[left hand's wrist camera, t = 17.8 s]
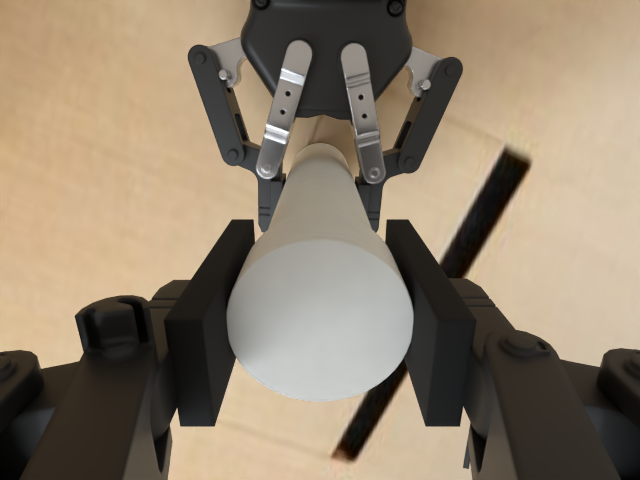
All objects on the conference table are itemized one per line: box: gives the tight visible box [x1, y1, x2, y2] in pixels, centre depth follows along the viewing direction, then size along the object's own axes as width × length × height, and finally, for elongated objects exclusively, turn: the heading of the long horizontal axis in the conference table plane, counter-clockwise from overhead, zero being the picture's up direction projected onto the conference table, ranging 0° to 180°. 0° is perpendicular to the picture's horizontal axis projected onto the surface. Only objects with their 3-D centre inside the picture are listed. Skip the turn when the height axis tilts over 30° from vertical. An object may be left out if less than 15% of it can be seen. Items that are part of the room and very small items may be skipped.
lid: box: [226, 212, 414, 402], centre depth 11 cm, size 5×5×2 cm
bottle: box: [268, 143, 372, 229], centre depth 20 cm, size 4×4×20 cm
